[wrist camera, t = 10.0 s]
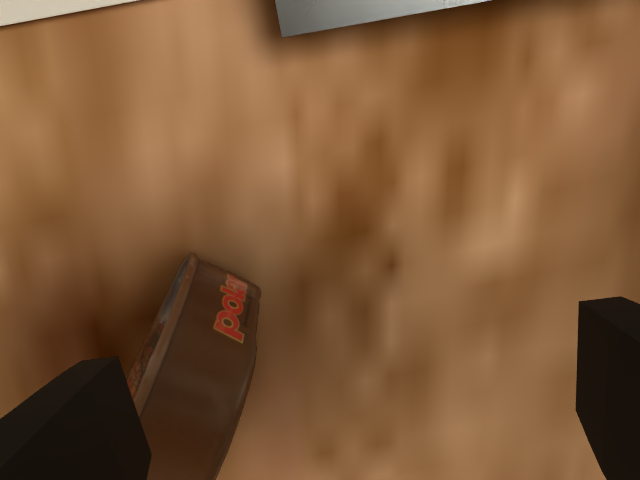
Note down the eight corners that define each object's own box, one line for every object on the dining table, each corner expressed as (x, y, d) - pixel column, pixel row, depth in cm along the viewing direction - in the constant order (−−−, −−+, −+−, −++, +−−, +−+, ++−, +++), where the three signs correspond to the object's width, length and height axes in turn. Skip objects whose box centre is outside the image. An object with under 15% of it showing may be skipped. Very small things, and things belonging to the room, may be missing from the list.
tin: (205, 210, 19) (122, 360, 11) (291, 250, 20) (266, 420, 12) (67, 504, 25) (-52, 741, 17) (137, 529, 25) (53, 770, 17)
